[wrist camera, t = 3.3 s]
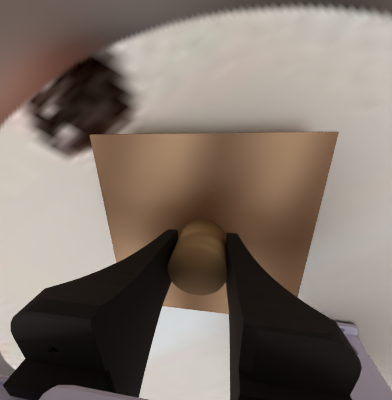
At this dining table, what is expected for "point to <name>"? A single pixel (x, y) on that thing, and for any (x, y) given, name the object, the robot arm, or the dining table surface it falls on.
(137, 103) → the dining table surface
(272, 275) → the lid
